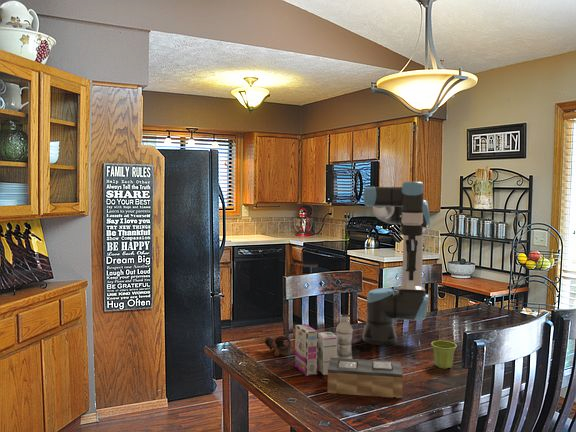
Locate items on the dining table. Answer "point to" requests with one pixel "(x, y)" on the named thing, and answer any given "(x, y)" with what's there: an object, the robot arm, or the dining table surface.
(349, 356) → the plastic bottle
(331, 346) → the syrup box
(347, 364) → the seated peg
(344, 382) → the socket block
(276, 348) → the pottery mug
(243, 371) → the dining table surface
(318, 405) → the dining table surface
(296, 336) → the candy bar box
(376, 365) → the peg
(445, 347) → the plant pot
